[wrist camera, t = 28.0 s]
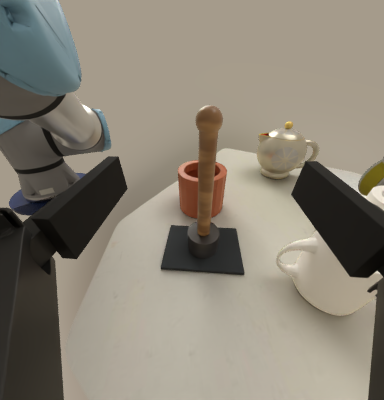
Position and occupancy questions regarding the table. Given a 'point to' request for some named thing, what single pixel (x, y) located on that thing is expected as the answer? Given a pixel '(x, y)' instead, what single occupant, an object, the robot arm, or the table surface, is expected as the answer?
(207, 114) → the brush
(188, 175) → the jar
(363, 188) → the alarm clock
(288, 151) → the teapot
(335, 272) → the mug
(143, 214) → the table surface
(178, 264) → the mat
